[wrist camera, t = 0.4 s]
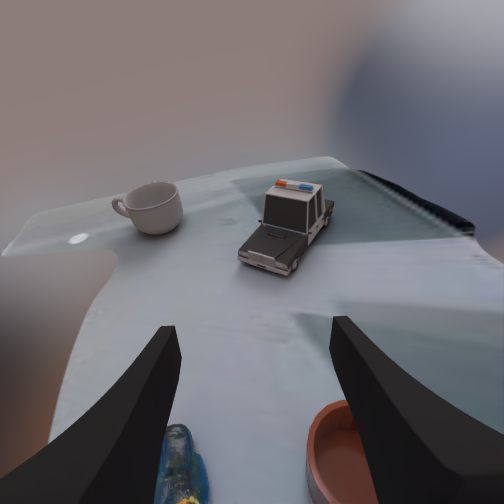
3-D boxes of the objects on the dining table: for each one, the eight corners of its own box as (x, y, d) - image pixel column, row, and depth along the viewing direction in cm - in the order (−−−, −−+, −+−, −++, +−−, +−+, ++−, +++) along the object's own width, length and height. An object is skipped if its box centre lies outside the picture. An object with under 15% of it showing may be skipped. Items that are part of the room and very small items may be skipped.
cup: (421, 542, 21) (445, 528, 17) (314, 541, 21) (316, 528, 18) (383, 424, 27) (396, 397, 23) (301, 427, 27) (301, 401, 24)
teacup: (195, 214, 63) (186, 180, 58) (172, 243, 55) (160, 207, 50) (141, 212, 66) (128, 180, 61) (112, 239, 58) (95, 204, 53)
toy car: (236, 263, 48) (227, 212, 42) (289, 206, 61) (288, 161, 55) (290, 281, 43) (289, 226, 37) (335, 216, 56) (340, 167, 50)
